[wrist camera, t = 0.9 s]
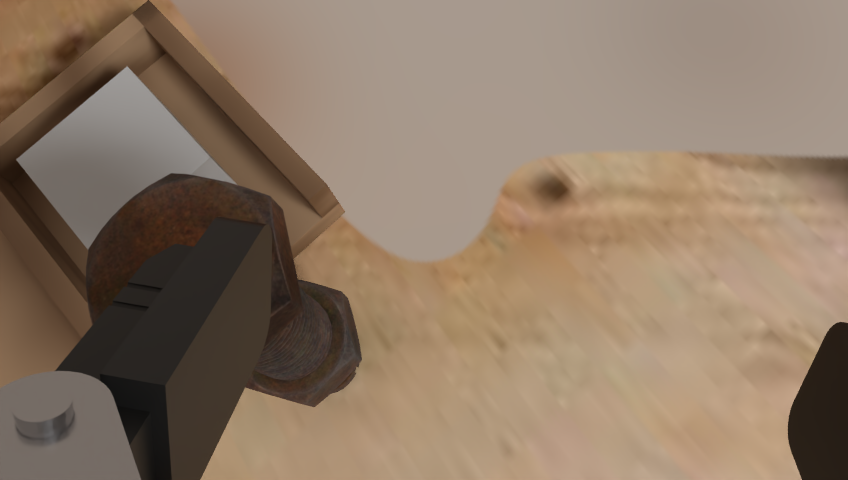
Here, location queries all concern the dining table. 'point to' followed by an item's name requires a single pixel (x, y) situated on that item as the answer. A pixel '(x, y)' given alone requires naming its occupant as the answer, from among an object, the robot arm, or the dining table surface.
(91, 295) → the bolt
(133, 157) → the grey block
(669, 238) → the dining table surface
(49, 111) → the tray
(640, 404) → the dining table surface
